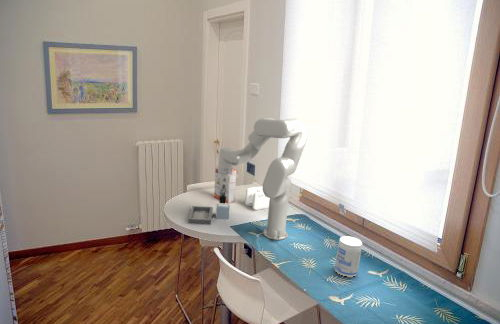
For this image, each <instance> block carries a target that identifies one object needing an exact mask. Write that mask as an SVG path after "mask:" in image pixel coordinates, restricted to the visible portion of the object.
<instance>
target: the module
mask: <svg viewBox="0 0 500 324" xmlns="http://www.w3.org/2000/svg"><path fill="white" fill-rule="evenodd" d="M215 219H216V220H229V219H230V203H227V204H226V203H217V204H216V216H215Z"/></svg>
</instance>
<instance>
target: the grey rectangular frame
mask: <svg viewBox="0 0 500 324" xmlns="http://www.w3.org/2000/svg"><path fill="white" fill-rule="evenodd" d="M195 212H205V213H207V212H208V218H195V217H194V214H193V213H195ZM193 217H194V218H193ZM212 217H213V206H201V205H191V208H190V210H189V215H188V220H187V224H191V225H212V220H213V219H212Z"/></svg>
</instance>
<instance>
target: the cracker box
mask: <svg viewBox="0 0 500 324" xmlns="http://www.w3.org/2000/svg"><path fill="white" fill-rule="evenodd" d="M218 167H219V165H217V166H215V171H214V173H215V175H214V176H215V177H214V194H213V195H214V196H213V197H214V198H216V199H218V200H220V174H219V173H218ZM237 172H238V170H236V169H233V168H232V174H231V175H230V181H229V192H226V202H225V204H226V203H227V204H232V203H235V200H236V188H237V187H236V185H237Z"/></svg>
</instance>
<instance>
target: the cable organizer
mask: <svg viewBox="0 0 500 324" xmlns="http://www.w3.org/2000/svg"><path fill="white" fill-rule="evenodd" d="M262 187H263V185H262V186H252V187H247V188H246V190H245V201H244V203H245V205H246V206H249V207H251V206H252V209H253V210H255V211H261V210H264V209H265V210H269V201H270V198H268V197H266V196H265V195H264V193H263V189H262Z"/></svg>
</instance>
